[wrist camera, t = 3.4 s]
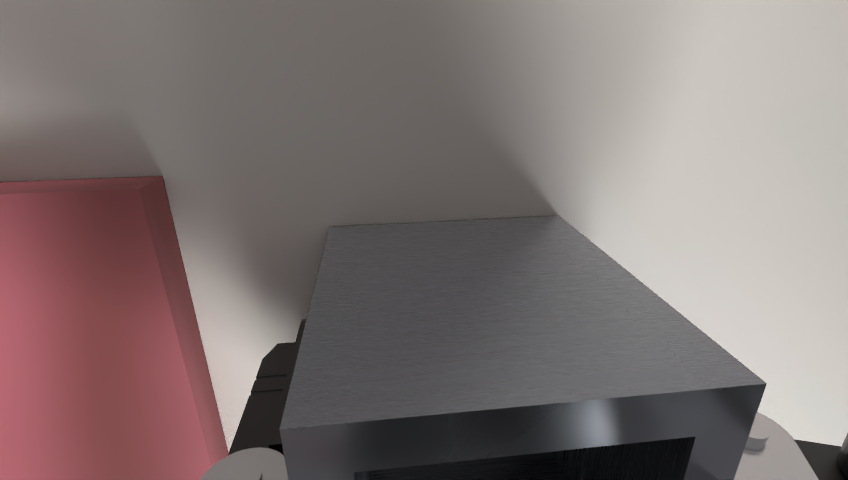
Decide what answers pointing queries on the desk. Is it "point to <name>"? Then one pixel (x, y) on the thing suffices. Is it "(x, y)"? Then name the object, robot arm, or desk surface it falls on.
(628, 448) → the square socket
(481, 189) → the desk surface
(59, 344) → the post base
